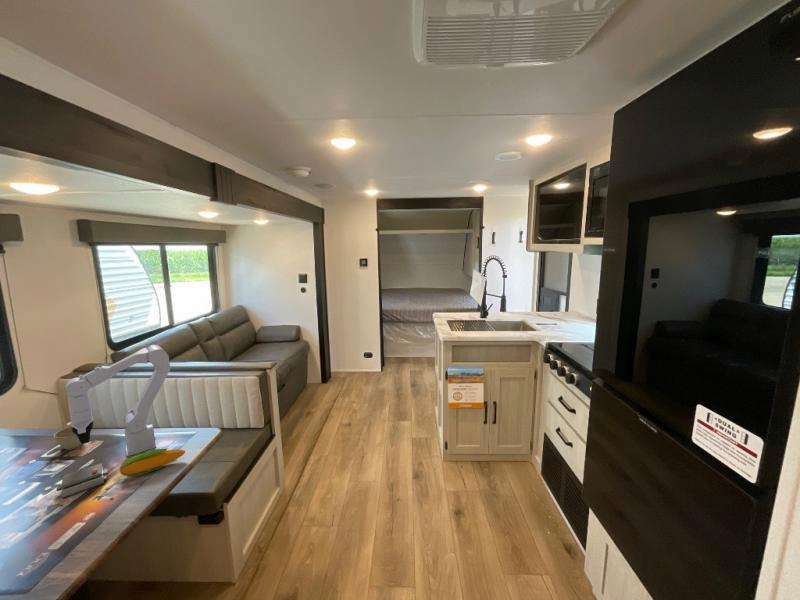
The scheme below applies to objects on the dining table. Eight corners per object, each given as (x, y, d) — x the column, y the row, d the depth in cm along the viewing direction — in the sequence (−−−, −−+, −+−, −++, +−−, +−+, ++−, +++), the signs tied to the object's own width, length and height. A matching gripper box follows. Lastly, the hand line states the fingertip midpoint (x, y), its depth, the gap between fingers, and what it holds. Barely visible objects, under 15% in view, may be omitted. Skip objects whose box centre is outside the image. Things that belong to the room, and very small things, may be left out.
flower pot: (87, 436, 142) (84, 421, 141) (92, 444, 136) (90, 429, 135) (54, 447, 134) (51, 432, 133) (59, 456, 128) (56, 440, 127)
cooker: (108, 471, 120) (107, 464, 120) (108, 482, 115) (107, 474, 114) (59, 488, 112) (57, 480, 111) (57, 500, 106) (55, 492, 106)
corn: (119, 454, 118) (184, 436, 130) (122, 472, 120) (185, 453, 132) (117, 466, 113) (185, 447, 124) (120, 485, 114) (186, 464, 126)
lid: (102, 465, 119) (101, 459, 119) (102, 476, 113) (101, 470, 113) (63, 478, 113) (62, 471, 112) (61, 490, 106) (60, 483, 106)
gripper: (66, 405, 122) (71, 438, 124) (63, 421, 111) (69, 456, 114) (91, 400, 127) (96, 431, 129) (91, 414, 116) (96, 447, 118)
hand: (85, 442), depth 122 cm, fingers closed
